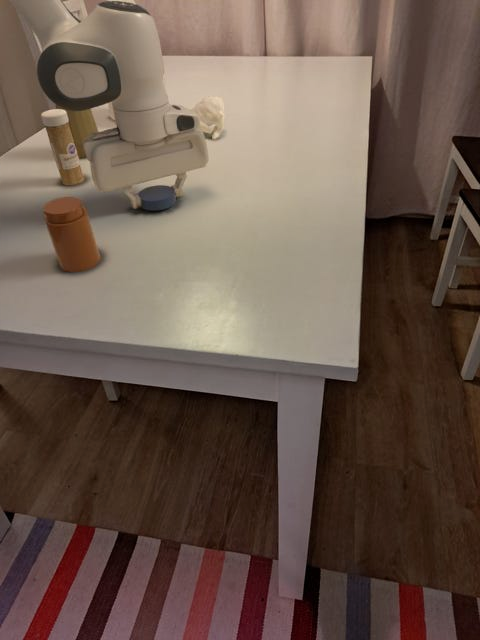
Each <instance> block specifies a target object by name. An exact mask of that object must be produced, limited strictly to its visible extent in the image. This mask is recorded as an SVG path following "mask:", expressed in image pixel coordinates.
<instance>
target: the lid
mask: <svg viewBox="0 0 480 640" xmlns="http://www.w3.org/2000/svg"><path fill="white" fill-rule="evenodd" d="M137 195H138V196H139V197H140V198H141V204H142V207H141V208H142V210H143V209H144V210H146V211H152V212H153V211H155V212H156V211H162V210H166V209H168V208H171V207H172V206H174V205H175V204H176V202H177V197H175V190H174V189H173V188H172V187H171V185H170V186H169V185H163V184H157V185H151V186H147V187H145V188H143V189H141V190H140V191H139V192H138V194H137Z"/></svg>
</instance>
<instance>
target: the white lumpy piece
mask: <svg viewBox="0 0 480 640" xmlns="http://www.w3.org/2000/svg"><path fill="white" fill-rule="evenodd" d="M225 106H226V105H225V103H224V101H223V99H222V98H221V97H220V96H217V95H210V96H206V97H204V98H202V99H201V100H200V101H198V102H197V103H196V104H195V106H194V107H193V108H191V110H192V111H193V112H194V113H196V114H197V115H198V116H199V118H200V126H199V127H198V128H199V129H200V130H201V131H202V132H203V133H206V134H211V138H212V140H216V139H217V138H218V137H220V136H221V134H222V132H223V129H224V126H225V121H226V120H225V119H226V118H225V111H226V107H225ZM213 125H215V126H214V127H211V126H213Z"/></svg>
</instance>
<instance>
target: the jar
mask: <svg viewBox="0 0 480 640" xmlns="http://www.w3.org/2000/svg"><path fill="white" fill-rule="evenodd" d="M42 209H43V215H44V216H43V222H44V224H45V227H46V230H47V232H48V235H49V239H50V241H51V244H52V247H53V250H54V252H55V255H56V257H57V258H56V259H57V260H58V263H59V266H60V268H61V269H62V270H63V271H65V272H69V273H79V272H85V271H88V270H90V269H92V268H94V267H95V266H96V265H98V264H99V262H100V260H101V255H100V252H99V249H98V248H99V247H98V244H97V241H96V237H95V235H94V231H93V227H92V224H91V223H92V222H91V220H90V216H89V213H88V210H87V208H86V207H84V206H83V203H82V200H81V199H80V198H79V197H75V196H62V197H57V198H55V199H52V200H50V201H48V202H47V203H45V204H44V206H43V208H42Z"/></svg>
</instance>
